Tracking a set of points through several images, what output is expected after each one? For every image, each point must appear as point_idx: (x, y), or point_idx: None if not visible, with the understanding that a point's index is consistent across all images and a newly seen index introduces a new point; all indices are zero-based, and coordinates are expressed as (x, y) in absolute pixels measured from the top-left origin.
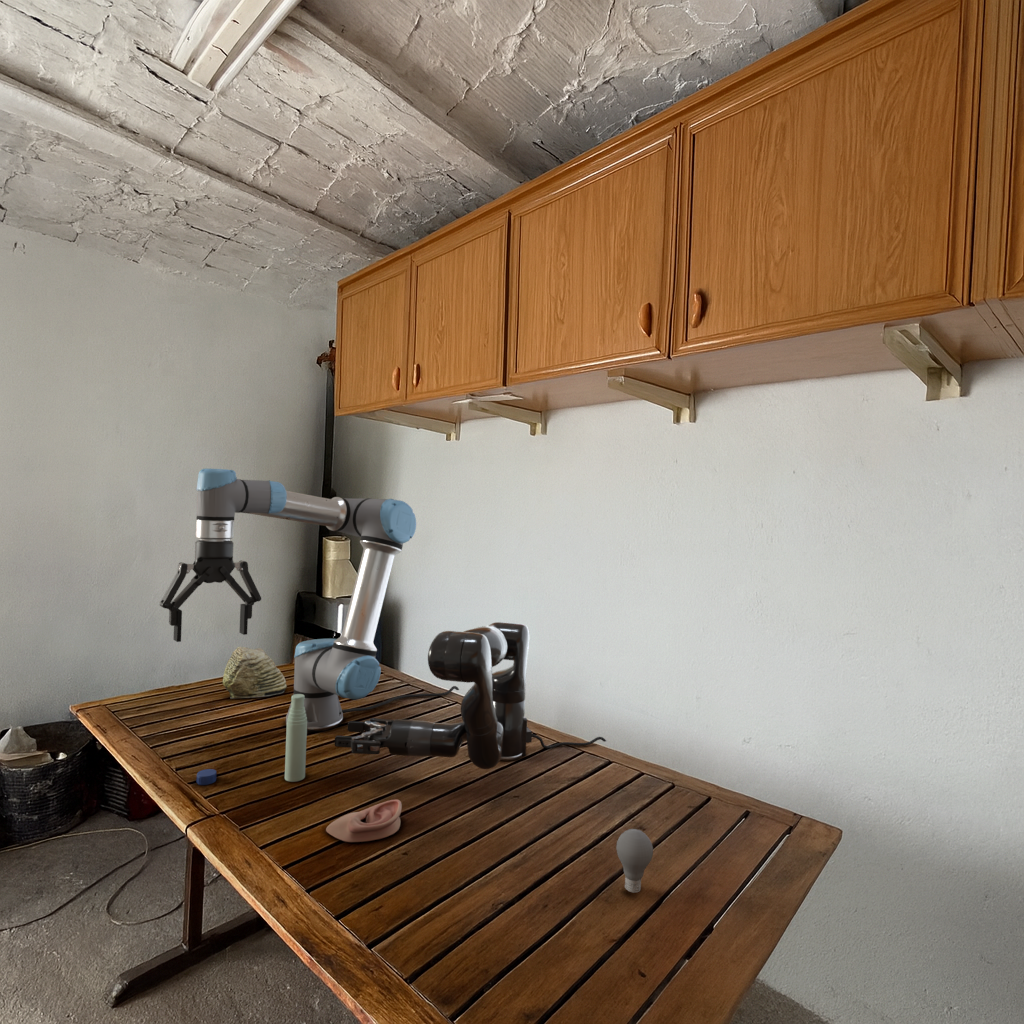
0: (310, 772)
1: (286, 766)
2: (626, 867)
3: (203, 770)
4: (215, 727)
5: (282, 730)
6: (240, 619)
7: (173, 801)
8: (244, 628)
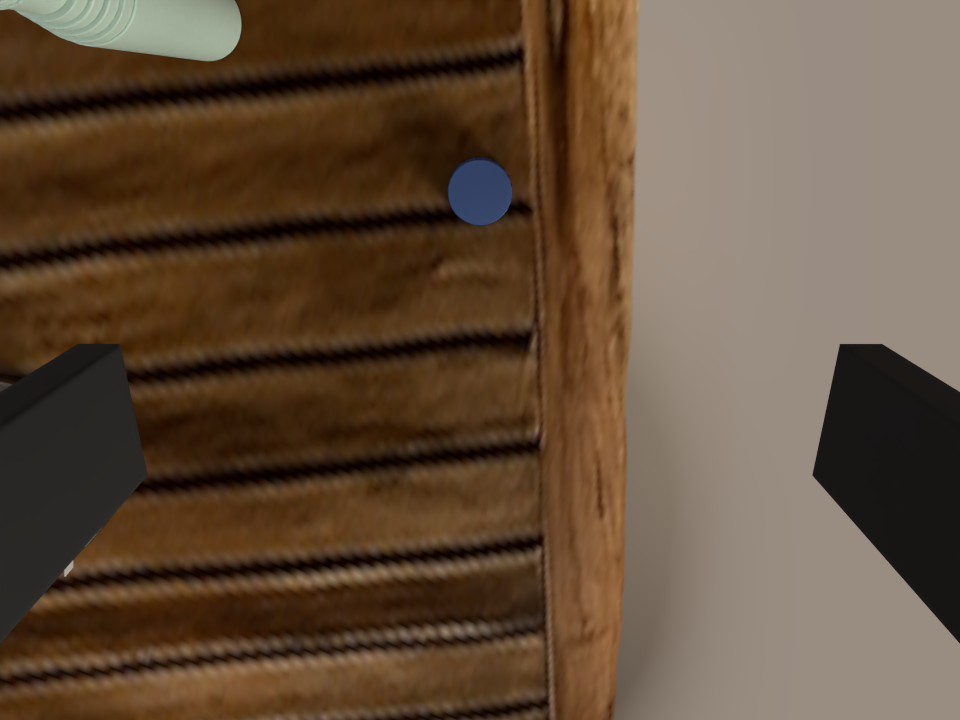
0: None
1: (220, 8)
2: None
3: (482, 219)
4: (333, 594)
5: None
6: (49, 559)
7: (612, 94)
8: (69, 373)
